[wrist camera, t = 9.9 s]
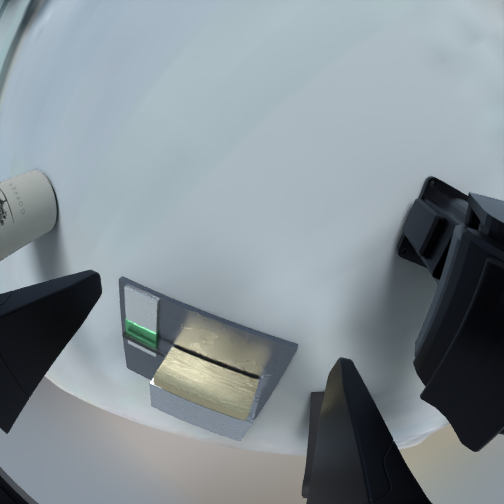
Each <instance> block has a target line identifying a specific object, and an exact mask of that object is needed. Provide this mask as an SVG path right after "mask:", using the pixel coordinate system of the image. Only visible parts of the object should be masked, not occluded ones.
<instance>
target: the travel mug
mask: <svg viewBox="0 0 504 504" xmlns="http://www.w3.org/2000/svg"><path fill="white" fill-rule="evenodd" d="M56 216H57V209H56V200H55V196H54V192H53V189H52V187H51V184H50V182H49V180H48V179H47V177H46V176H45V175H44V174H43V173H42V172H41V171H39V170H32V171H29V172H26V173H23V174H20V175H18V176H15V177H12V178H10V179H7V180H4V181H2V182H0V261H1V260H3V259H4V258H6V257H8V256H9V255H11V254H12V253H14V252H15V251H17V250H19V249H20V248H22V247H23V246H25V245H27V244H28V243H30V242H32V241H33V240H35V239H37V238H39V237H40V236H42V235H44V234H46V233H47V232H49V231H51V230H52V229H53V227H54V225H55V222H56Z"/></svg>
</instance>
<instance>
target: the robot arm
mask: <svg viewBox="0 0 504 504" xmlns="http://www.w3.org/2000/svg"><path fill="white" fill-rule="evenodd" d="M431 181H434V185H433V186H431V185H430V183H431ZM403 232H404V234H403V236H402V238H401V240H400V242H399V244H398V246H397V253H398V255H399V256H400V257H402V258H404V259H407V260H409V261H412V262H414V263H416V264H419V265H421V266H424V267H426V268H428V270H429V271H430V273H431V275H432V276H433V277H434V278H435V280H436V282H437V283H438V287H437V290H436V293H435V296H434V298H433V301H432V304H431V307H430V309H429V312H428V314H427V317H426V319H425V322H424V324H423V326H422V329H421V331H420V333H419V336H418V338H417V340H416V342H415V359H414V361H413V364H414V367H415V370H416V373H417V375H418V376H419V378H420V379H421V381H422V382H423V384H424V385H425V386H426V387H425V389H424V390H423V392H422V393H421V395H420V398H421V399H422V400H424V401H425V402H427V403H429V404H430V405H432V406H434V407H436V408H437V409H438V410H439V411H440V412H441V413H442V414H443V415H444V416H445V417H446V418H447V420H448V421H449V423H450V424H451V425H452V427H453V429H454V431H455V432H456V434H457V436H458V438H459V440H460V441H461V443H462V444H463V445H465V446H466V447H468V448H469V449H470V450H472V451H474V452H477V451H480V450H481V449H482V448H483V447H484V446H486V445H487V444H488V443H489V442H490V441H491V440H492V439H493V438H494V437H496V435H498V434H502V435H504V201H502V200H498V199H494V198H490V197H486V196H483V195H478V194H474V193H470V192H469V195H468V196H467V195H465V194H464V193H462V192H460V191H458V190H457V189H455V188H453V187H452V186H450V185H448V184H446V183H444V182H443V181H441V180H439V179H437V178H435V177H433V176H430V177H428V178H427V179H426V181H425V184H424V187H423V189H422V192H421V194H420V197H419V198H418V199H416V200H415V202H414V204H413V207H412V209H411V212H410V214H409V216H408V219H407V221H406V223H405V225H404V228H403ZM403 248H405V251H404V252H401V250H402V249H403ZM101 294H102V286H101V278H100V275H99V273H97V272H95V271H93V270H87V271H83V272H79V273H76V274H72V275H68V276H64V277H61V278H57V279H53V280H49V281H46V282H42V283H38V284H35V285H31V286H28V287H24V288H20V289H17V290H14V291H10V292H6V293H2V294H0V428H1V429H2V430H3V431H4V432H5V433H7V434H8V432H9V431H10V429H11V428H12V426H13V424H14V422H15V421H16V419H17V417H18V416H19V414H20V412H21V411H22V409H23V407H24V406H25V404H26V403H27V401H28V400H29V397H30V396H31V395H32V393H33V392H34V390H35V389H36V387H37V386H38V384H39V383H40V381H41V380H42V378H43V377H44V375H45V374H46V373H47V371H48V370H49V368H50V367H51V365H52V364H53V363H54V361H55V360H56V358H57V357H58V356H59V354H60V353H61V352H62V350H63V349H64V348H65V346H66V345H67V344H68V342H69V341H70V340H71V338H72V337H73V336H74V334H75V333H76V332H77V330H78V329H79V328H80V327H81V325H82V324H83V322H84V321H85V319H86V318H87V316H88V315H89V313H90V311H91V310H92V308H93V307H94V305H95V304H96V302H97V301H98V299H99V298H100V296H101ZM0 504H38V503H37V502H36V501H35V500H34V499H32V498H31V497H30V496H29V495H28V494H27V493H26V492H25V491H24V490H23V489H21V488H20V487H19V486H18V485H17V484H16V483H15V482H14V481H13V480H12V479H11V478H10V477H9V476H8V475H7V474H6V473H5V472H4V470H3V469H2V468H1V467H0ZM306 504H432V503H431V502H430V501H429V499H428V498H427V497H426V495H425V493H424V492H423V490H422V489H421V487H420V485H419V484H418V482H417V481H416V479H415V477H414V476H413V474H412V473H411V471H410V469H409V468H408V466H407V464H406V463H405V461H404V459H403V457H402V455H401V453H400V451H399V449H398V447H397V445H396V443H395V441H393V438H392V436H391V434H390V432H389V430H388V428H387V426H386V424H385V422H384V420H383V418H382V416H381V414H380V412H379V410H378V408H377V406H376V404H375V402H374V401H373V399H372V397H371V395H370V393H369V391H368V389H367V387H366V385H365V384H364V382H363V380H362V378H361V376H360V374H359V372H358V371H357V369H356V367H355V365H354V363H353V362H352V360H350V359H346V358H342V357H341V358H339V359H338V360H337V362H336V364H335V365H334V367H333V368H332V370H331V371H330V373H329V376H328V380H327V385H326V389H325V394H324V399H323V403H322V408H321V412H320V417H319V425H318V433H317V441H316V449H315V456H314V463H313V469H312V475H311V481H310V487H309V493H308V498H307V503H306Z"/></svg>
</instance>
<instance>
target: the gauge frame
mask: <svg viewBox="0 0 504 504" xmlns="http://www.w3.org/2000/svg"><path fill="white" fill-rule="evenodd" d="M119 293H120V309H121V321H122V332H124V331H126V332H127V333H129V334H131V335H133V336H135V337H137V338H139V339H141V340H143V341H145V342H147V343H150V344H152V345H154V346H156V347H158V348H160V349H162V350H165V351H167V352H169V351H170V350H171V348H172V347H174V348H176V349H178V350H181V351H183V352H185V353H188V354H190V355H192V356H195V357H197V358H200V359H202V360H205V361H207V362H210V363H212V364H215V365H218V366H220V367H223V368H226V369H228V370H231V371H234V372H237V373H240V374H243V375H245V376H248V377H251V378H254V379H257V380H259V382H258V385H257V389H256V392H255V396H254V399H253V402H252V406H251V409H250V412H249V415H248V417H247V418H246V420H245V421H244V420H241V419H238V418H235V417H232V416H229V415H226V414H223V413H220V412H218V411H215V410H212V409H210V408H207V407H204V406H202V405H199V404H197V403H194V402H192V401H189V400H187V399H185V398H182V397H180V396H178V395H175V394H173V393H171V392H169V391H166V390H164V389H162V388H160V387H158V386H156V385H154V380H153V376H154V375H155V373H156V372H157V370H158V369H159V367H160V365H161V364H162V362H163V361H164V359H165V358H164V357H162V356H160V355H158V354H156V353H153V352H151V351H149V350H147V349H145V348H143V347H141V346H139V345H137V344H135V343H133V342H131V341H129V340H127V339H125V338H124V337H123V341H124V349H125V357H126V364H127V368H128V369H130V370H132V371H134V372H136V373H138V374H140V375H142V376H144V377H146V378H148V379H150V380H151V382H150V395H151V406H152V407H154V408H157V409H159V410H161V411H163V412H165V413H167V414H169V415H172V416H174V417H176V418H179V419H181V420H183V421H186V422H188V423H191V424H193V425H196V426H198V427H201V428H203V429H206V430H209V431H211V432H214V433H217V434H220V435H223V436H226V437H229V438H232V439H235V440H238V441H241V439H242V438H243V436H244V435H245V433H246V432H247V430H248V429H249V427H250V426H251V424H252V422H253V420H255V418H256V417H257V415H258V414H259V412H260V410H261V409H262V407H263V406H264V404H265V403H266V401H267V399H268V398H269V396H270V395H271V393H272V391H273V390H274V388H275V386H276V385H277V383H278V381H279V380H280V378H281V376H282V375H283V373H284V371H285V369H286V368H287V366H288V364H289V362H290V361H291V359H292V357H293V355H294V354H295V352H296V350H297V347H298V344H295V343H292V342H289V341H286V340H283V339H280V338H277V337H274V336H271V335H268V334H265V333H262V332H259V331H256V330H253V329H250V328H247V327H245V326H242V325H239V324H236V323H234V322H231V321H228V320H225V319H223V318H220V317H217V316H215V315H212V314H210V313H207V312H204V311H202V310H199V309H197V308H194V307H192V306H189V305H187V304H184V303H182V302H179V301H177V300H175V299H172V298H170V297H167V296H165V295H163V294H160V293H158V292H156V291H153V290H151V289H149V288H147V287H144V286H142V285H140V284H138V283H135V282H133V281H131V280H129V279H127V278H124V277H121V278H120V279H119Z"/></svg>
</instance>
